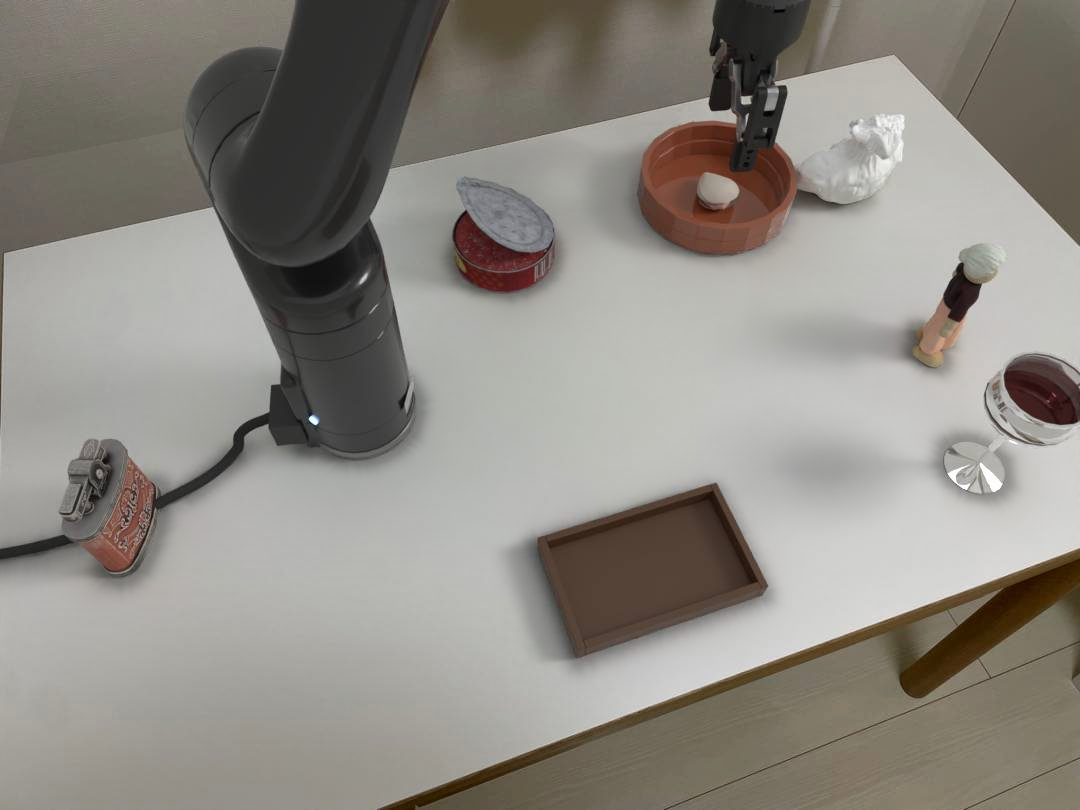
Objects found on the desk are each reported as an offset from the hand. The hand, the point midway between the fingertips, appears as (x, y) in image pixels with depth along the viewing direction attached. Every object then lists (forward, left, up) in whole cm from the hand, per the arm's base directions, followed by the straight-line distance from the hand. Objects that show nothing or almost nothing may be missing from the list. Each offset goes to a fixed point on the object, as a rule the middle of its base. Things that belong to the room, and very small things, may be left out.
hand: (729, 138), depth 81 cm
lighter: (-54, -31, -8) cm, 63 cm away
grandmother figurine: (+16, -20, -8) cm, 27 cm away
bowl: (0, 0, -8) cm, 8 cm away
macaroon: (0, 0, -8) cm, 8 cm away
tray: (-14, -39, -8) cm, 42 cm away
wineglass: (+15, -33, -8) cm, 37 cm away
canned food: (-22, -5, -8) cm, 24 cm away
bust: (+14, 0, -8) cm, 16 cm away
